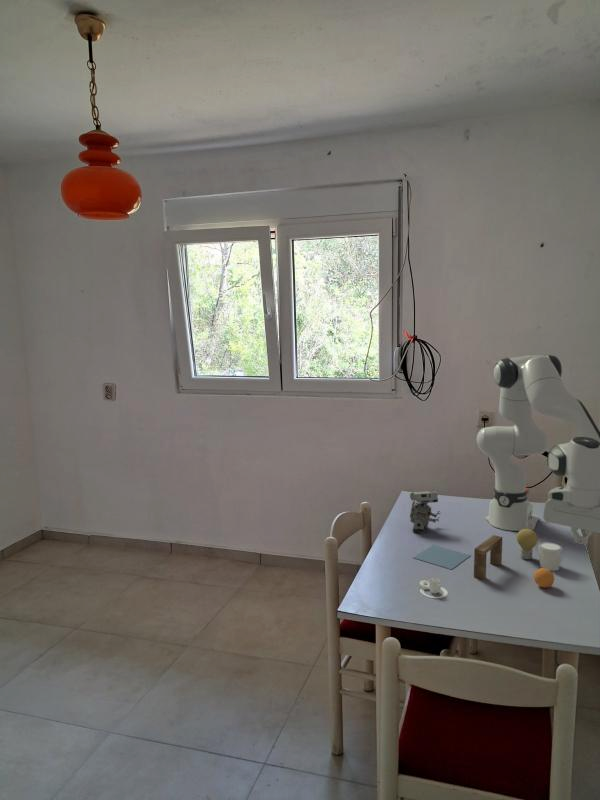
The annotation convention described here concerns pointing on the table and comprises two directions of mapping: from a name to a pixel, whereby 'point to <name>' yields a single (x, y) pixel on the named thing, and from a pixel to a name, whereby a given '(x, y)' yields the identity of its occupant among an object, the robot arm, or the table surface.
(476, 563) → the bridge
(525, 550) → the light bulb
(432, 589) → the mug and donut ornament
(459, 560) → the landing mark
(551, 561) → the white cylinder
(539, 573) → the ball
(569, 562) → the table surface
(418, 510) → the figurine
